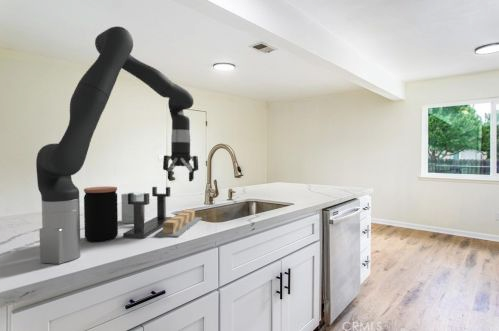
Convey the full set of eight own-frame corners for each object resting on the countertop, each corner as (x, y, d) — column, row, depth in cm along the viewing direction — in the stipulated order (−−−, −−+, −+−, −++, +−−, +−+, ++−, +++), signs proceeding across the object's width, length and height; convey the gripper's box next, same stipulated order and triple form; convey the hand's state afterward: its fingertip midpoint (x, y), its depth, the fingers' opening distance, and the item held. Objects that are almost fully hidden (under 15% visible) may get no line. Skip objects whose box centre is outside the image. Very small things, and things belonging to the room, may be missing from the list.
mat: (178, 237, 108) (178, 235, 108) (154, 236, 109) (154, 234, 109) (201, 218, 138) (201, 217, 138) (182, 218, 139) (182, 216, 139)
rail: (173, 233, 110) (173, 223, 110) (162, 233, 111) (162, 222, 111) (194, 218, 136) (194, 209, 136) (186, 218, 137) (186, 209, 136)
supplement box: (136, 223, 128) (136, 194, 128) (121, 222, 130) (120, 193, 129) (145, 219, 135) (145, 192, 135) (131, 219, 137) (130, 191, 136)
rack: (144, 238, 107) (143, 195, 106) (123, 237, 108) (122, 194, 107) (173, 220, 134) (173, 186, 134) (156, 219, 135) (156, 185, 135)
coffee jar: (109, 232, 114) (108, 185, 113) (123, 237, 107) (122, 188, 106) (79, 238, 106) (78, 188, 105) (92, 244, 99) (91, 191, 98)
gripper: (160, 141, 119) (160, 181, 120) (194, 141, 117) (194, 182, 118) (167, 141, 127) (167, 179, 127) (200, 142, 125) (200, 180, 125)
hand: (180, 180), depth 123 cm, fingers open, 8 cm apart
